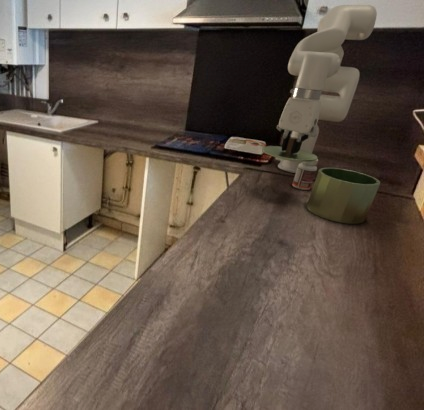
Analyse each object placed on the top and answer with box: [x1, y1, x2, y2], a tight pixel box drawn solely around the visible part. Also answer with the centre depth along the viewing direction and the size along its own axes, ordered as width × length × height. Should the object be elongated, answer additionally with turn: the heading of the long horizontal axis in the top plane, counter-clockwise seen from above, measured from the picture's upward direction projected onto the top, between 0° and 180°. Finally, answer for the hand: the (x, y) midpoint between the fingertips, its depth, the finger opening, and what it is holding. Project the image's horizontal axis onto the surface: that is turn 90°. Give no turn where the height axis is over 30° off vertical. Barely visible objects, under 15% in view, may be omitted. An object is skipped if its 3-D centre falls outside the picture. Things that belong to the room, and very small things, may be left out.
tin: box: [306, 167, 381, 225], centre depth 111 cm, size 16×16×12 cm
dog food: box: [223, 136, 267, 156], centre depth 181 cm, size 30×18×5 cm, turn 152°
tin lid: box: [262, 137, 318, 162], centre depth 119 cm, size 17×17×6 cm
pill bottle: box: [291, 158, 319, 191], centre depth 132 cm, size 6×6×11 cm
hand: (289, 151), depth 120 cm, fingers closed on tin lid, 2 cm apart
